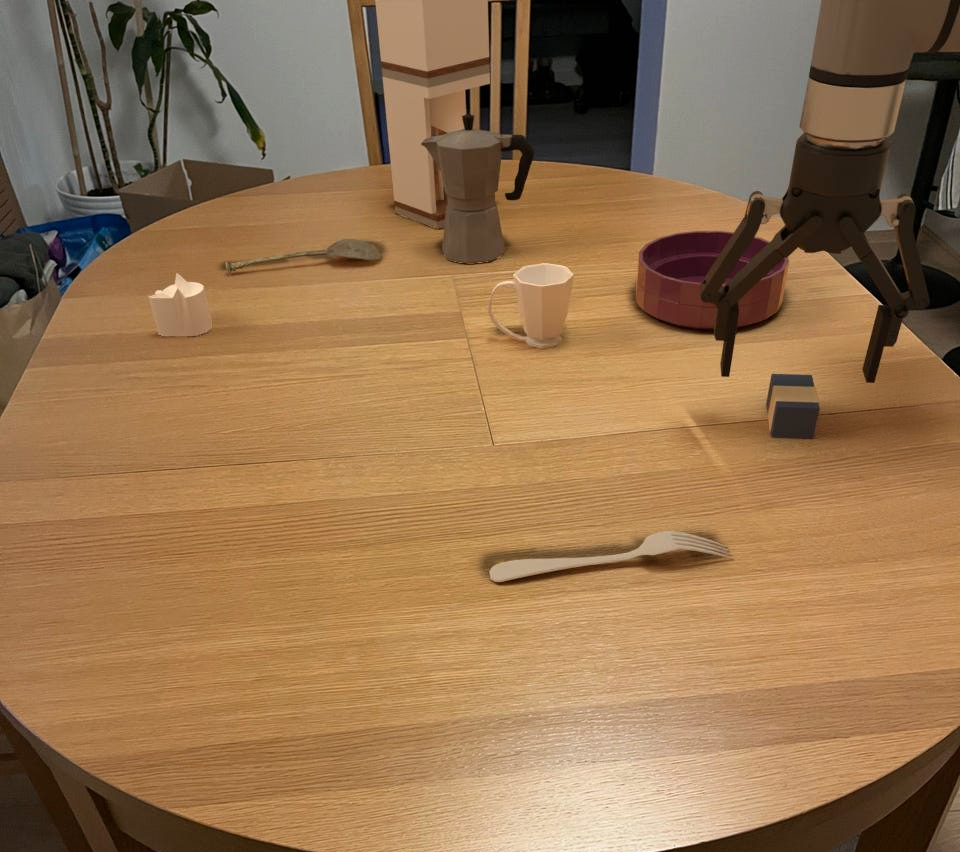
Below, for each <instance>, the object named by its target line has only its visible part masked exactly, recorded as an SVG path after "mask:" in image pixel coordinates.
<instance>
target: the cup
mask: <svg viewBox="0 0 960 852" xmlns="http://www.w3.org/2000/svg"><path fill="white" fill-rule="evenodd" d="M512 277H513V280H505V281H501V282H498V283H497V284H496V285H495V287H494V288H493V289H492V290H491V293H490V298H489V302H488V315H489V319H490V321H491V322H492V324H493V325H494V326H495V327H496V328H497V329H499V330H500V331H501V332H502V333H504V334H505V335H507V336H508V337H510V338H511V339H514V340H516V341H518V342H523V343H526V344H527V345H528V346H529V347H532V348H537V349H543V350H544V349H548V348H555V347H557V346H558V345H559V344H560V343H561V342H562V336H561V335H560V334H561V333H562V332H563V331H564V327H565V323H566V320H567V316H568V313H569V306H570V300H571V294H572V287H573V284H574V277H575V273H574V272H572V270H570V269H569V268H568V267H567V266H566V265H560V264H555V263H548V262H542V263H541V262H540V263H535V264H534V263H533V264H529V265H528V264H527V265H523V266H522V267H521V268H519V269H518V270H516V271H515V272H514V273H513V275H512ZM501 288H506V289H507V288H508V289H512V290H515V293H516V294H515V295H516V300H517V306H518V313H519V317H520V321H521V324H522V328H523V331H524V333H525V334H526V335H525V336H524V335H519V334H517V333H515V332H513V331H512V330H510V329H509V328H507V327H506V326H504V325H503V324H502V323H500V322H499V321H498V319H497V318H496V317H495V316H494V313H493V310H492V307H493V306H492V305H493V299H494V296H495V294H497V292H498V291H499V290H500V289H501Z"/></svg>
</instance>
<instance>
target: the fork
mask: <svg viewBox="0 0 960 852" xmlns="http://www.w3.org/2000/svg"><path fill="white" fill-rule="evenodd" d="M727 548H728V545H725V544H723V543H720V542H717V541H714V540H711V539H708V538H706V537H702V536H699V535H695V534H691V533H688V532H683V531H677V530H662V531H658V532H655V533H653V534H650V535H648V536H647V537H646V538H645V539H643V542H642V544H640V546H639V547H638V548H635V549H633V550H631V551H628V552H623V553H622V552H621V553H618V554H607V555H598V556H597V555H596V556H586V557H585V556H584V557H558V558H557V557H555V558H526V559H514V560H513V559H512V560H507V561H504V562H500V563H496V564H494V565H493V566H492V567H491V568H490V570H489V571H488V573H489V574H488V575H489V579H490V581H492V582H495V583H503V582H507V581H511V580H516V579H521V578H526V577H531V576H535V575H540V574H545V573H550V572H551V573H552V572H555V571H556V572H557V571H561V570H567V569H572V568H580V567H585V566H595V565H603V564H609V563H615V562H621V561H627V560H631V559H633V558H637V557H640V556H656V555H660V554H664V553H667V552H673V551H676V550H681V551H694V552H699V553H704V554H708V555H713V556H718V557H722V558H724V559H725V558H726V559H729V560H734V557H732V556H731V555H732V553H731V552H730V550H729V549H727Z"/></svg>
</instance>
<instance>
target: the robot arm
mask: <svg viewBox="0 0 960 852" xmlns="http://www.w3.org/2000/svg"><path fill="white" fill-rule="evenodd" d="M915 53H923V54H934V53H960V0H820V7H819V13H818V18H817V25H816V31H815V36H814V43H813V48H812V55H811V61H810V66H809V72H808V77H807V83H806V89H805V95H804V99H803V105H802V109H801V116H800V120H799V128H800V130H801V131H802V134H800V136H799V137H798V138H797V139H796V143H795V147H794V155H793V160H792V165H791V171H790V176H789V182H788V187H787V189H786V192H785V194H784V195H783V197H781V198H779V197H772V196H765V195H764V194H763V192H761V191H760V190H754V191H752V192H751V194H750V195H749V198H748V202H747V204H746V209H745V212H744V216H743V218H742V219H741V221H740V223H739V224H738V225H737V227H736V229H735V230H734V233H733V235H732V236H731V238H730V240H729V241H728V243H727V244H726V246H725V247H724V249H723V250H722V252H721V253H720V255H719V257H718V258H717V260H716V261H715V263H714V264H713V266H712V267H711V269H710V270H709V272H708V273H707V275H706V277H705V278H704V280H703V281H702V283H701V285H700V295H701V300H702V301H703V302H705V303H709V302H710V303H712V304H714V305H715V306H716V307H717V311H716V318H715V325H714V330H713V335H714V339H715V341H716V342H717V341H720V342H723V343H722V350H721V356H720V376H721V377H722V378H723V377H724V378H730V376H731V375H730V374H731V370H732V369H731V368H732V362H733V355H734V349H735V343H736V336H737V330H738V328H737V324H738V317H739V306H738V301H739V300H740V299H741V298H742V297H743V296H744V295H745V294H746V293H747V292H748V291H749V290H750V289H751V288H753V287H754V286H755V285H756V284H757V283H758V282H759V281H760V280H761V279H762V278H763V277H764V276H765V275H766V274H767V273H769V272H770V271H771V270H772V269H773V268H774V267H775V266H776V265H777V264H778V263H779V262H780V261H781V260H782V259H784V258H787V257H788V258H789V256H791V255H792V254H793V253H794V252H796V250H797V249H800V250H802V251H803V252H804V253H805V254H815V253H820V252H826V253H829V254H834V255H835V254H838V255H841V254H842V252H844V251H847V250H848V249H849V248H851V249H852V250H853V252H854V254H855V255H856V256H857V258H858V260H859V261H860V262H861V264H862V266H863V267H864V268H865V270H866V272H867V273H868V275H869V276H870V278H871V280H872V281H873V283H874V284H875V286H876V288H877V289H878V291H879V292H880V294H881V296H882V298H883V299H884V300H885V302H886V304H878V306H877V310H876V314H875V318H874V322H873V326H872V330H871V334H870V337H869V341H868V345H867V350H866V353H865V357H864V360H863V361H864V362H863V365H862V369H861V370H862V373H863V377H864V380H865V383H868V384H875V382H876V379H877V374H878V371H879V368H880V365H881V360H882V356H883V352H884V349H885V347H887V348H889V347H890V348H893V347H894V346H895V344H897V342H898V338H899V334H900V330H901V326H902V324H903V320H904V319H905V318H907V316H908V315H909V312H910V311H913V310H925V309H926V308H928V307H929V306H930V303H931V300H930V295H929V292H928V287H927V283H926V279H925V275H924V274H925V273H924V271H923V266H922V263H921V262H922V261H921V257H920V254H919V249H918V246H917V241H916V238H915V233H914V222H915V216H916V210H917V209H916V204H915V203H914V201H913V199H912V197H911V195H910V194H909V193H905V192H904V193H901V194H899V195H898V196H897V197H896V198H889V199H881V198H880V196H881V195H880V194H881V190H882V189H881V188H882V185H883V180H884V176H885V172H886V168H887V164H888V159H889V155H890V150H891V143H890V141H889V139H888V138H889V137H890V136H891V135H892V134H893V133H895V131H896V130H895V129H896V125H897V121H898V116H899V112H900V108H901V104H902V100H903V94H904V90H905V86H906V81H907V79H908V75H909V71H910V64H911V62H912V59H913V56H914V54H915ZM777 214H778V215H779V216H780V218H781V220H782V222H783V224H784V225H783V227H782V228H780V229H779V230H778V231H777V232H776V233H775V235H774V236H773V238H772V239H771V240H770V241H769V242H770V243H769V244H767V245H766V246H765V247H764V248H763V249H762V250H761V251H760V252H759V253H758V254H757V255H756V256H755V257H754V258H753V259H752V260H751V261H750V262H749V263H748V264H747V265H746V266H745V267H743V268H742V269H741V270H740V271H739V272H738V273H737V274H736V275H735V276H734V277H733V278H732V279H731V280H730V281H729V282H728V283H727V284H726V285H725V286H724V287H723V288H722V287H721V286H722V285H723V283H724V282H725V280H726V279H727V277H728V276H729V274H730V273H731V271H732V270H733V268H734V267H735V265H736V264H737V262H738V261H739V259H740V258H741V256H742V255H743V253H744V252H745V250H746V249H747V247H748V246H749V244H750V243H751V241H752V240H753V238H754V237H756V235H757V233H758V232H759V229H760V227H761V225H766V224H767V223H769V222H770V220H771V218H772V217H773V216H775V215H777ZM881 216H883V217H885V221H886V223H887V224H888V226H889V227H891V228H893V230H894V234H895V238H896V242H897V246H898V250H899V254H900V258H901V263H902V266H903V270H904V274H905V278H906V283H907V286H908V290H907V291H905V292H901V291H900V290H899V287H898V286H897V285H896V283H895V281H894V280H893V278H892V276H891V275H890V273H889V272H888V270H887V268H886V267H885V265H884V263H883V262H882V260H881V258H880V257H879V255H878V254H877V252H876V250H875V249H874V247H873V246H872V244H871V243H870V240H869V239H868V236H867V235H866V234H865V233H866V232H867V231H868V230H869V229H870V228H871V227H872V226H873V225H874V224H875V223H876V222H877V221H878V219H880V217H881Z"/></svg>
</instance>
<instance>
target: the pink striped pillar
mask: <svg viewBox="0 0 960 852" xmlns="http://www.w3.org/2000/svg"><path fill="white" fill-rule="evenodd" d="M374 1H375V11H376V22H377V23H376V24H377V34H378V44H379V54H380V64H381V74H382V85H383V96H384V108H385V119H386V129H387V139H388V149H389V150H388V151H389V159H390V161H389V162H390V171H391V172H390V173H391V180H392V190H393V201H394V213H398V214H400V215H403V216H406V217H408V218H411V219H414V220H416V221H419V222H422V223H424V224H427V225H430V226H432V227H435V228H441V227H444V225H445V215H446V207H447V206H448V202H447V194H446V193H445V190H444V185H443V180H442V175H441V171H440V170H439V168H438V166H437V165H436V163H435V161H434V160H433V158H432V156H431V155H430V153H429V152H428V150H427V149H426V148H425V147H424V146H422V145H421V143H422V142H423V141H424V140H425V139H426V138H430V137H434V136H440V135H445V134H447V133H449V132H453V131H458V130H462V129H464V124H463V119H462V116H464V115H466V114H467V99H466V91H467V90H470V89H475V88H478V87H482V86H485V85H490V84H491V71H490V69H491V67H490V65H491V64H490V34H489V33H490V31H489V29H490V28H489V0H374ZM400 215H399V216H400ZM408 218H407V219H408ZM416 221H415V222H416ZM424 224H423V225H424ZM432 227H431V228H432Z"/></svg>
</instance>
